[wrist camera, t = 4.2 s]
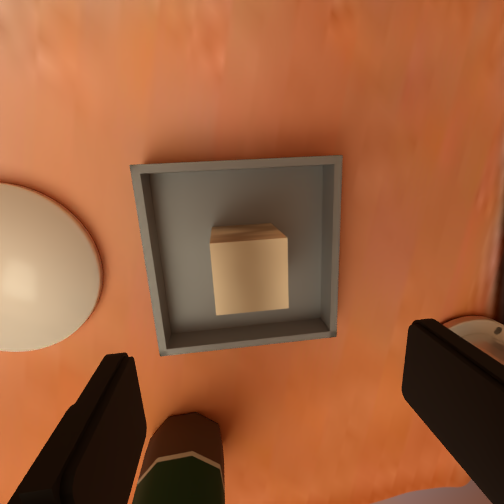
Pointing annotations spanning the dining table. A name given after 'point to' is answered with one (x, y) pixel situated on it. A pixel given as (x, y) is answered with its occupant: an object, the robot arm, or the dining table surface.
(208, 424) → the beer bottle
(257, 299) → the birch block
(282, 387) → the dining table surface
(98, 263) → the off-white plate
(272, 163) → the gray bin
